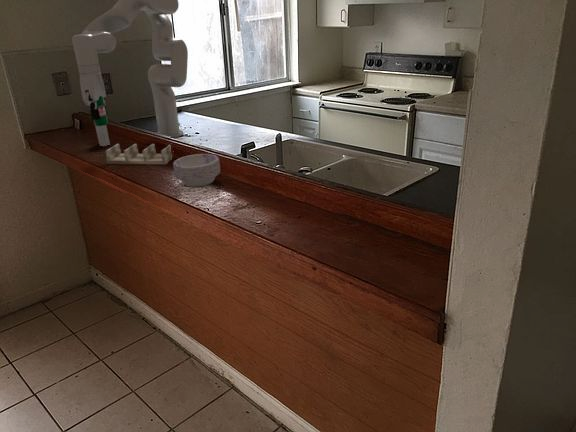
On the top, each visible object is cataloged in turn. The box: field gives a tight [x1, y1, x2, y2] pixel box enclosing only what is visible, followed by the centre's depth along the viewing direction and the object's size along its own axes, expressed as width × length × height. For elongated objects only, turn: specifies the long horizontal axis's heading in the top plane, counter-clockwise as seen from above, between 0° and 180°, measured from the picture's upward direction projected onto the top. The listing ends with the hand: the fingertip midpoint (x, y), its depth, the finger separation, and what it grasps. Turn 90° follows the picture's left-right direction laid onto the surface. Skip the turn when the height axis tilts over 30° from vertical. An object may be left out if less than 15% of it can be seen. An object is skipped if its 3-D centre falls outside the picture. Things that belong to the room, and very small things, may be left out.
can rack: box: [105, 143, 173, 165], centre depth 193 cm, size 10×24×5 cm, turn 82°
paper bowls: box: [172, 153, 221, 188], centre depth 166 cm, size 15×15×8 cm
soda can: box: [90, 95, 109, 126], centre depth 191 cm, size 5×5×12 cm
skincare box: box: [94, 124, 111, 147], centre depth 216 cm, size 6×4×12 cm
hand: (99, 117), depth 193 cm, fingers closed on soda can, 5 cm apart
